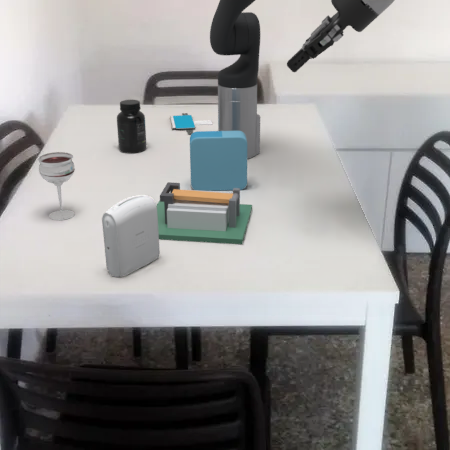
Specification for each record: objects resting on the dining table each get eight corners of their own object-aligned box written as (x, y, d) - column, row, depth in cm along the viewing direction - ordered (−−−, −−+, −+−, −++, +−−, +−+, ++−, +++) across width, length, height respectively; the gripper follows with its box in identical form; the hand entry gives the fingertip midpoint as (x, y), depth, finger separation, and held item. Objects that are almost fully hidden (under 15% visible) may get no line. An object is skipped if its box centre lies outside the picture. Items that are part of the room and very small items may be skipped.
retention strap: (238, 193, 138) (173, 188, 139) (236, 199, 135) (170, 194, 137) (238, 198, 138) (173, 193, 140) (236, 205, 136) (170, 199, 137)
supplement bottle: (143, 143, 184) (140, 97, 179) (149, 151, 178) (146, 104, 173) (116, 146, 182) (113, 99, 177) (121, 155, 176) (118, 106, 171)
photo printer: (119, 280, 120) (114, 212, 115) (102, 272, 122) (96, 205, 117) (163, 258, 127) (160, 193, 122) (146, 251, 129) (142, 186, 124)
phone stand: (216, 135, 192) (216, 129, 191) (171, 137, 190) (170, 131, 189) (207, 114, 210) (207, 108, 209) (166, 116, 208) (166, 110, 208)
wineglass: (41, 211, 146) (34, 154, 141) (75, 206, 148) (69, 150, 143) (47, 224, 140) (40, 165, 135) (82, 218, 142) (76, 160, 137)
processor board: (252, 209, 146) (252, 177, 143) (242, 244, 132) (242, 210, 129) (160, 204, 148) (158, 173, 146) (140, 238, 134) (138, 204, 131)
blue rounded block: (245, 182, 159) (245, 130, 154) (247, 190, 155) (247, 136, 150) (191, 183, 159) (189, 131, 154) (191, 191, 155) (189, 137, 150)
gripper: (350, -25, 126) (278, 45, 133) (351, -16, 114) (272, 60, 121) (379, 7, 127) (306, 74, 134) (382, 19, 116) (302, 92, 122)
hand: (290, 68), depth 128 cm, fingers closed
